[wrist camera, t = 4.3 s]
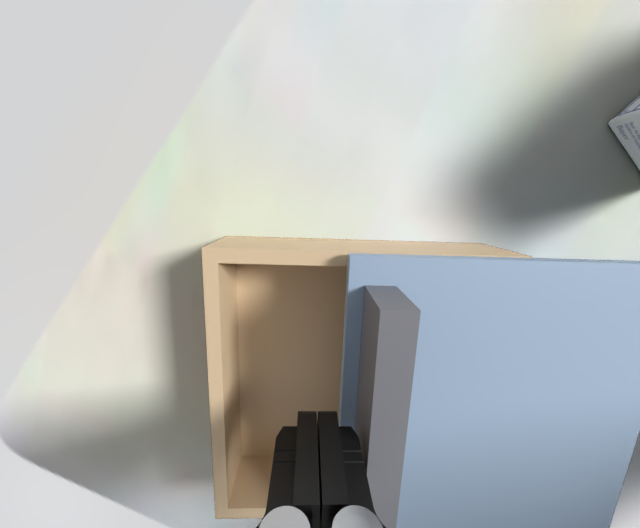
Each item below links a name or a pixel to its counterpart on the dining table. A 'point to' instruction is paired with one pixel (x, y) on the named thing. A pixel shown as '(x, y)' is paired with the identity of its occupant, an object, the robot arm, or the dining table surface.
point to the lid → (492, 387)
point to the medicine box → (629, 129)
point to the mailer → (278, 346)
